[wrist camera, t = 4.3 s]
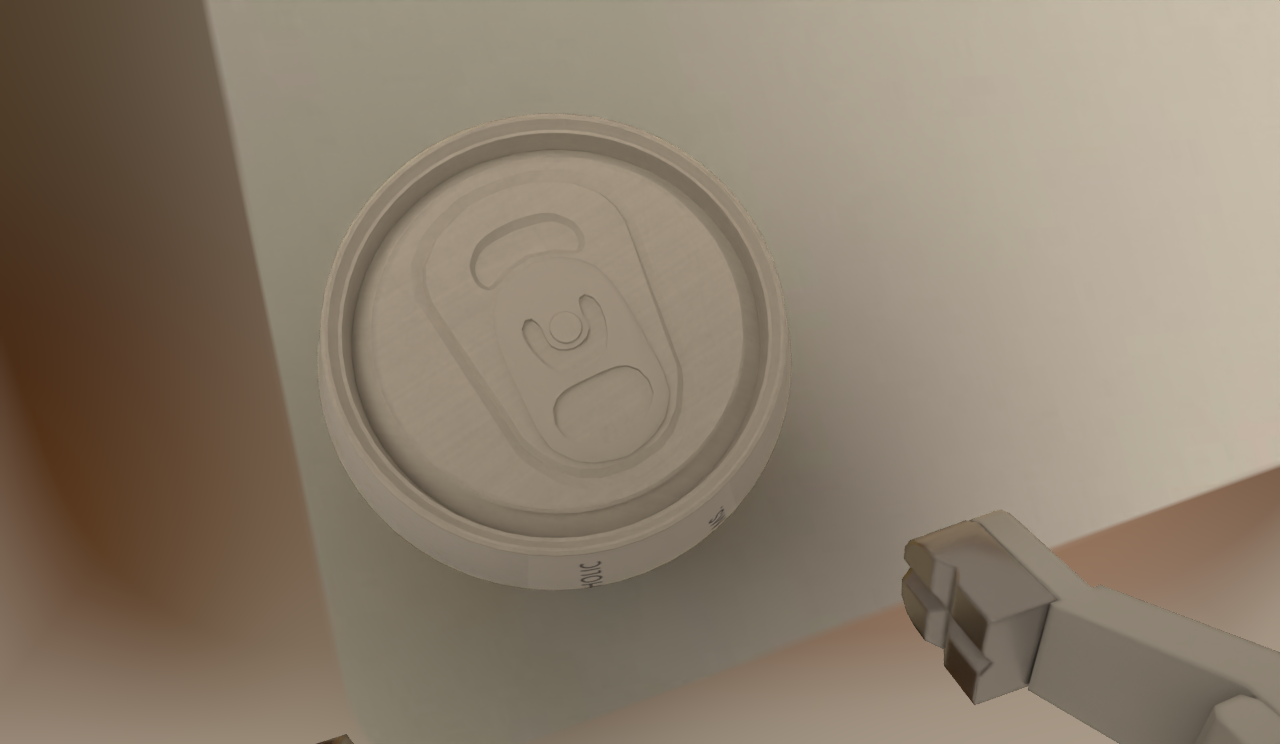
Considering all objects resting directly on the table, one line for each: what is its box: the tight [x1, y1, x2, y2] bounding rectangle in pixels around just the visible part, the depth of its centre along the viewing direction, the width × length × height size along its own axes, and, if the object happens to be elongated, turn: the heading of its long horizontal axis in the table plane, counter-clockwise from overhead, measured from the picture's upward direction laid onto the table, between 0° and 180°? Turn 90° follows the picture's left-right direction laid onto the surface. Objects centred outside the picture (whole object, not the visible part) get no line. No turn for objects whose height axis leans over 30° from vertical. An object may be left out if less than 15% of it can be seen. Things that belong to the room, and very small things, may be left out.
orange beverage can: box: [317, 114, 792, 590], centre depth 15 cm, size 6×6×15 cm
